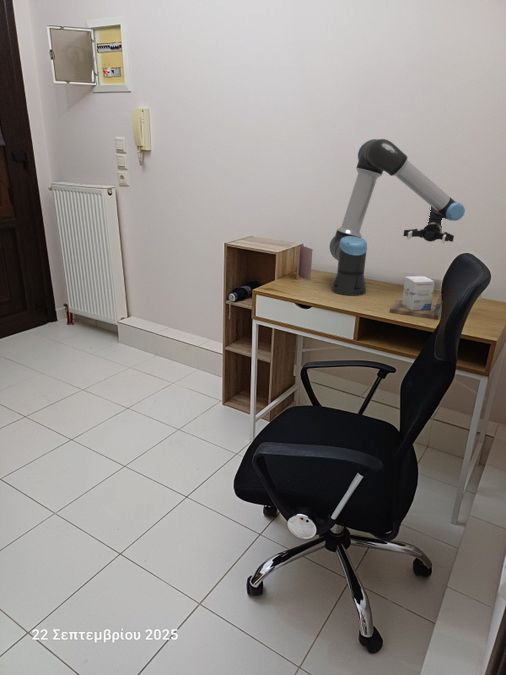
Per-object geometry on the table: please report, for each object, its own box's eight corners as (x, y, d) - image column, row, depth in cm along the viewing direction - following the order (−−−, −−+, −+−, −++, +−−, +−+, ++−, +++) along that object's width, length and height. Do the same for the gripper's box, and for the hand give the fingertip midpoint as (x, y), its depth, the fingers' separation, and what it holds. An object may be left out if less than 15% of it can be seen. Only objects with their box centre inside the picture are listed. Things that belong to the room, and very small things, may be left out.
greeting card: (297, 274, 245) (299, 245, 240) (312, 275, 244) (314, 245, 238) (294, 280, 235) (296, 249, 229) (310, 281, 233) (312, 250, 228)
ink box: (420, 303, 197) (424, 275, 193) (431, 310, 189) (435, 280, 185) (400, 304, 195) (404, 275, 191) (410, 310, 188) (414, 281, 183)
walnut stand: (389, 312, 190) (391, 297, 188) (395, 303, 202) (397, 289, 200) (437, 319, 183) (440, 304, 181) (441, 309, 195) (443, 295, 193)
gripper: (460, 243, 213) (456, 251, 195) (402, 237, 223) (393, 243, 205) (463, 226, 210) (460, 232, 192) (404, 220, 220) (396, 225, 202)
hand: (425, 238), depth 199 cm, fingers open, 13 cm apart
